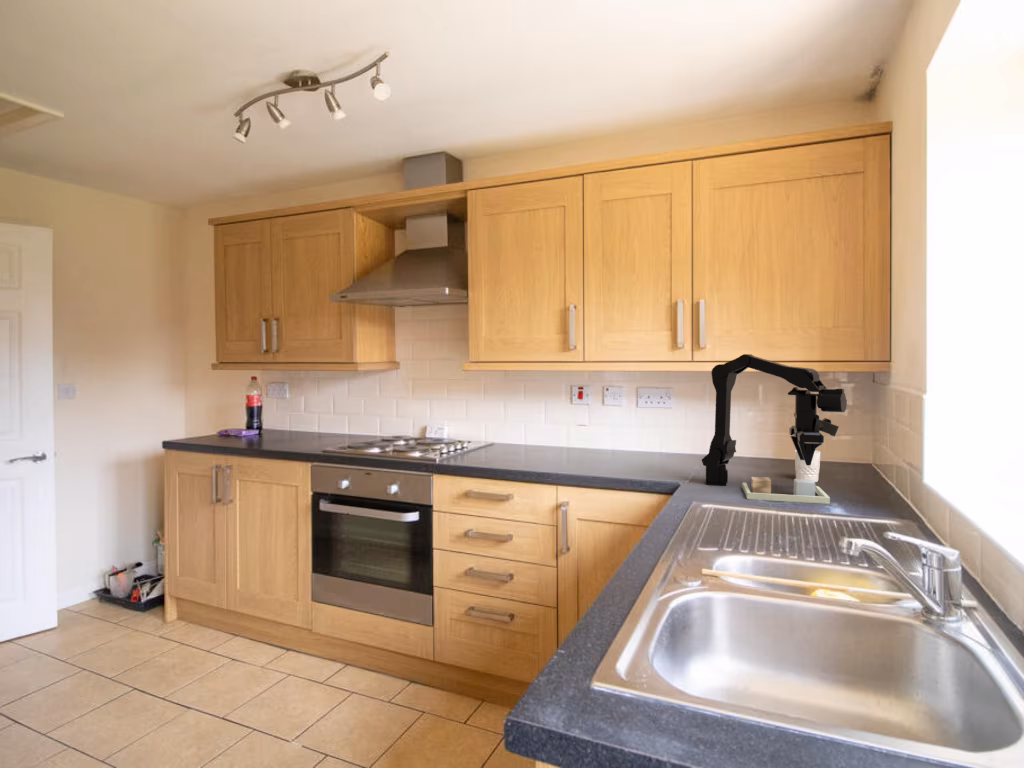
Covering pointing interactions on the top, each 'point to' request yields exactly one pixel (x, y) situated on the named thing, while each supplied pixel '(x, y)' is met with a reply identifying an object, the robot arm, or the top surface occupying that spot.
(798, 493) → the blue block
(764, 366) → the robot arm
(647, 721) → the top surface
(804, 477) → the white cup
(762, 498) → the tray
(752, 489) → the beech block
